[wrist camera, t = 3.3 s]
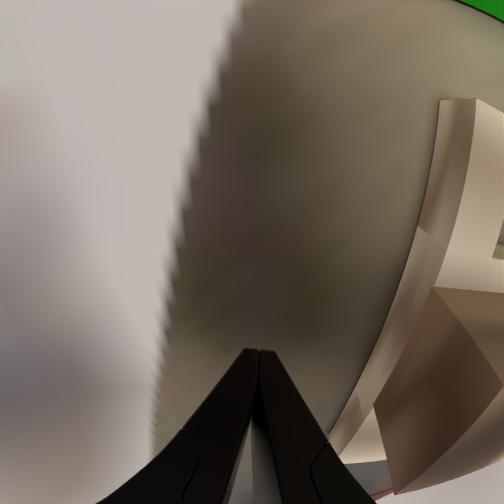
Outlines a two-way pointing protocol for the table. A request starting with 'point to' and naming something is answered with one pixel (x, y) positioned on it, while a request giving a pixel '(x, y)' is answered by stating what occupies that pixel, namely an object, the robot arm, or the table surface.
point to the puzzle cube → (489, 6)
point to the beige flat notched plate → (437, 254)
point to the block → (446, 391)
